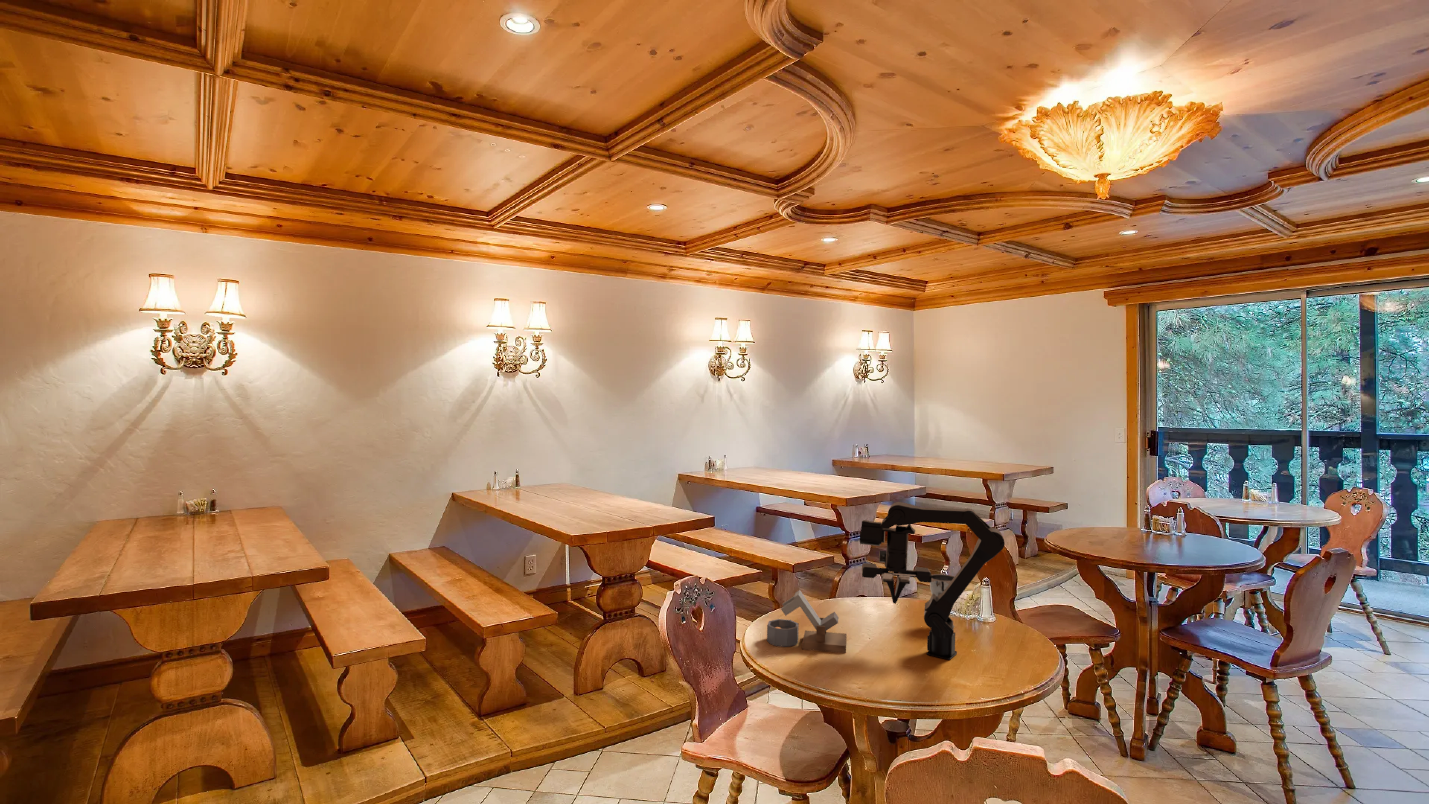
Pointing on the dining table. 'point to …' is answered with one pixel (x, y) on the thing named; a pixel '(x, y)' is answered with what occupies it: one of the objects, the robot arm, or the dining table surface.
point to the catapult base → (824, 640)
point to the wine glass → (940, 583)
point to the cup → (782, 632)
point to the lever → (808, 611)
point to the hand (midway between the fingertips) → (894, 602)
